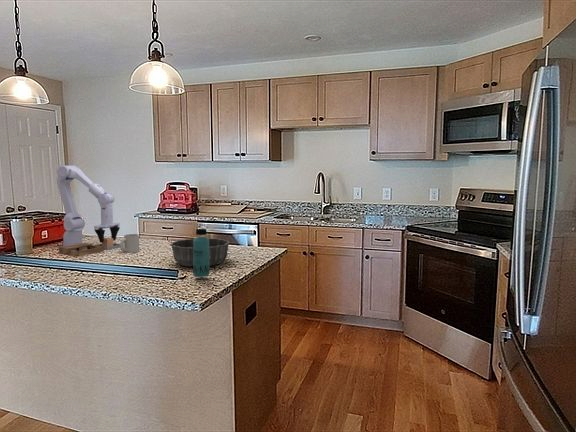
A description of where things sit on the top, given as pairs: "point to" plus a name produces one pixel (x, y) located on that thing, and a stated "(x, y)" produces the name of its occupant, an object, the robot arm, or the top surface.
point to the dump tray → (110, 247)
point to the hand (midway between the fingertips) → (107, 241)
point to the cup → (130, 243)
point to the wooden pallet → (90, 250)
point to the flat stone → (82, 248)
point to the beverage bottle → (201, 254)
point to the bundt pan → (185, 251)
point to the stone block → (108, 242)
